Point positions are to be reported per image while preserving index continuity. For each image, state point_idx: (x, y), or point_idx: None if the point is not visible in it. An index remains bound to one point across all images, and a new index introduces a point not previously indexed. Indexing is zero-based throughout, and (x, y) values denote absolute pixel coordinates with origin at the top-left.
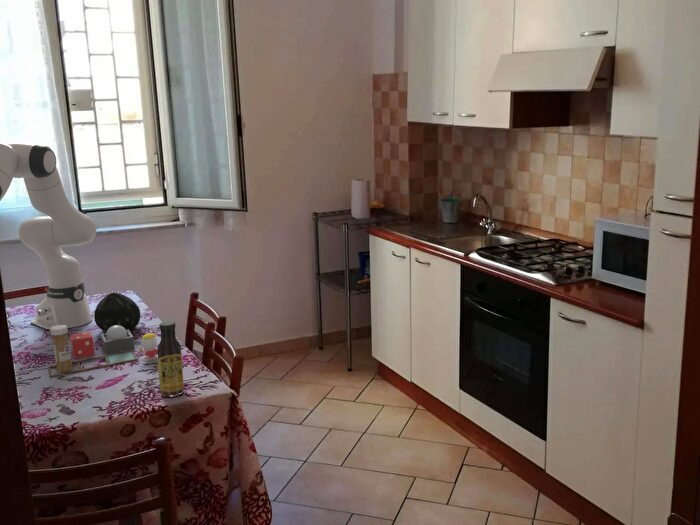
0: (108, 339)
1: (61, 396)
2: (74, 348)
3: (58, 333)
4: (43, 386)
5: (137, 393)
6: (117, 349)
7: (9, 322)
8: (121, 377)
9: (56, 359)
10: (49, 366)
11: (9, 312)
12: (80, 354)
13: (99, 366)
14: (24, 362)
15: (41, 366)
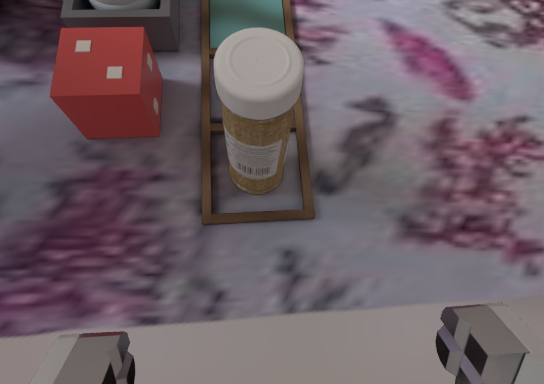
0: (137, 5)
1: (495, 189)
2: (149, 111)
3: (302, 81)
4: (387, 240)
5: (530, 21)
6: (177, 14)
7: (515, 317)
8: (404, 37)
9: (274, 171)
10: (207, 216)
11: (56, 340)
12: (158, 111)
13: None
14: (72, 314)
15: (169, 246)
